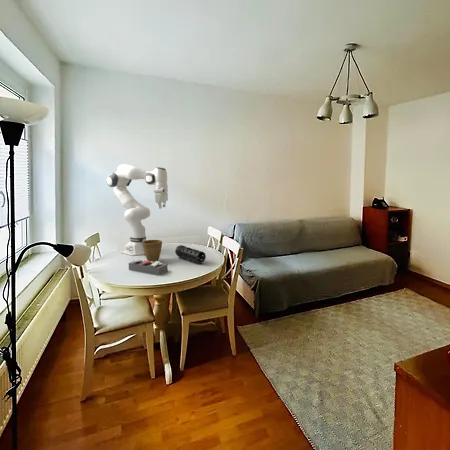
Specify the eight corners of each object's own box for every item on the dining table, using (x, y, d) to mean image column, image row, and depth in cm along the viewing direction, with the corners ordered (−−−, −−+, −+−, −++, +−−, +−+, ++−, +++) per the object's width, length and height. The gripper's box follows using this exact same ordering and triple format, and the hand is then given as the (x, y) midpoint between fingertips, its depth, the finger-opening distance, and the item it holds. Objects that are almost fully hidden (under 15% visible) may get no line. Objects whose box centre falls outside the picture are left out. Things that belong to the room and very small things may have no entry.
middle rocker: (141, 263, 205) (141, 261, 205) (147, 263, 211) (147, 260, 211) (145, 264, 204) (145, 262, 204) (151, 263, 209) (151, 261, 209)
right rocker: (151, 267, 203) (150, 264, 202) (156, 263, 208) (156, 260, 207) (155, 267, 201) (154, 265, 201) (160, 263, 206) (160, 261, 206)
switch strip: (128, 269, 211) (128, 262, 210) (138, 265, 220) (138, 258, 219) (158, 275, 200) (158, 267, 199) (167, 270, 209) (167, 263, 208)
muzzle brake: (196, 266, 221) (196, 252, 219) (174, 258, 240) (173, 245, 238) (206, 263, 227) (206, 250, 225) (183, 255, 247) (183, 243, 245)
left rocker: (132, 262, 209) (132, 259, 209) (138, 261, 214) (138, 259, 214) (136, 263, 207) (136, 260, 207) (142, 262, 213) (142, 260, 213)
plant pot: (166, 260, 233) (166, 240, 230) (153, 265, 220) (152, 244, 217) (152, 257, 240) (151, 238, 237) (138, 262, 227) (137, 242, 224)
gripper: (161, 188, 233) (162, 206, 236) (153, 190, 213) (153, 209, 216) (169, 188, 233) (170, 206, 235) (161, 190, 213) (162, 209, 215)
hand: (162, 207), depth 225 cm, fingers open, 8 cm apart
